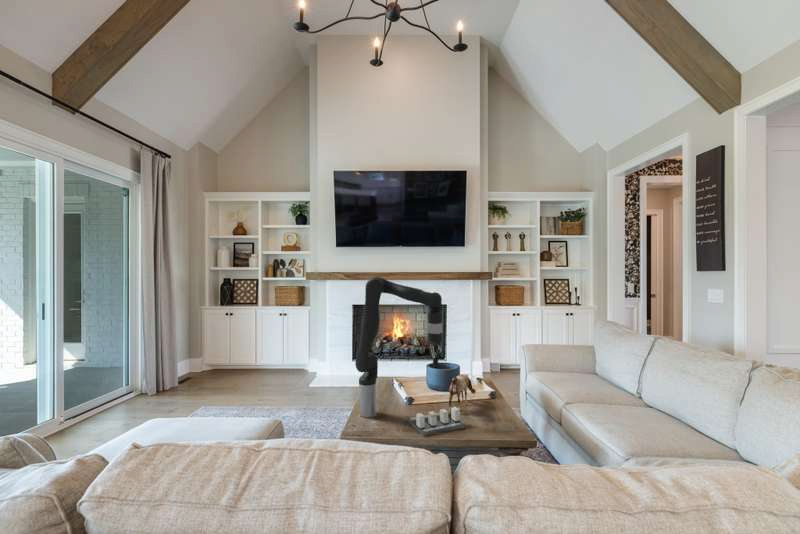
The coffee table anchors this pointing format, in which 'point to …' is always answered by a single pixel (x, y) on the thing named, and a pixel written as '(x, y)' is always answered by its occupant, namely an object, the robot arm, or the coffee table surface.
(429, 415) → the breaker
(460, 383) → the horse figurine
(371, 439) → the coffee table surface
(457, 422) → the panel
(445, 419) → the breaker
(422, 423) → the breaker
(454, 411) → the breaker
